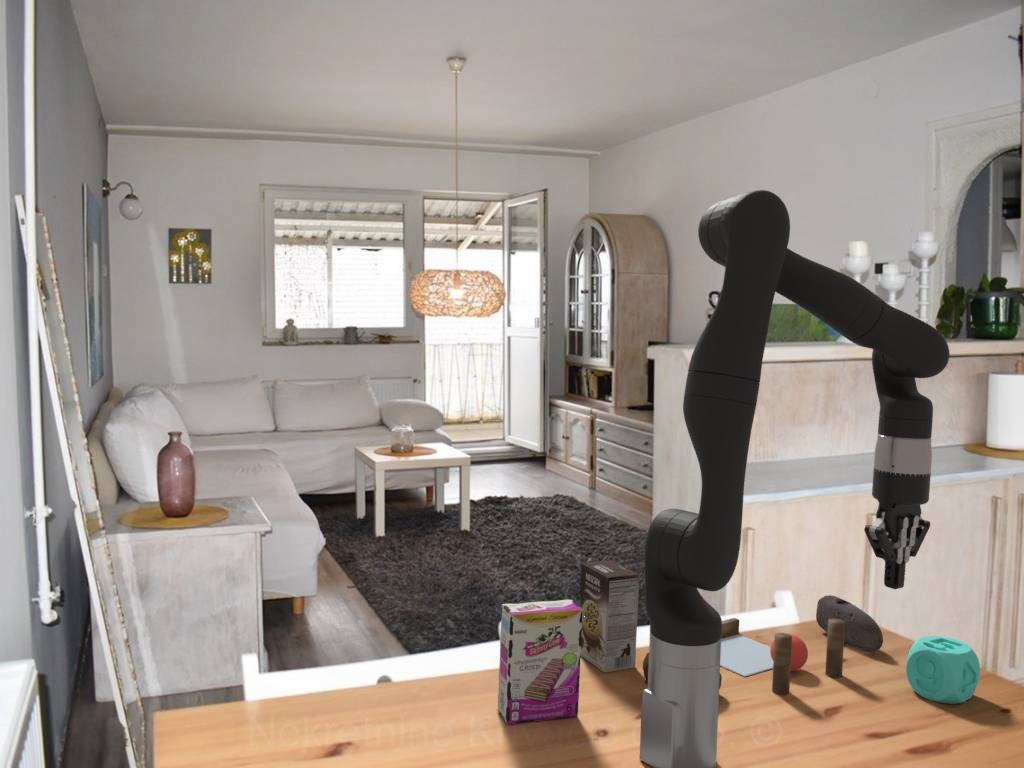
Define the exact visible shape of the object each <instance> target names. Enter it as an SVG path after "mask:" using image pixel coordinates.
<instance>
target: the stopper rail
mask: <svg viewBox="0 0 1024 768" xmlns="http://www.w3.org/2000/svg"><path fill="white" fill-rule="evenodd" d="M739 633H740V618H739V619H738V618H736V617H733V618H732V617H731V618H729V619H724V620H722V636H721V638H725V637H730V636H734V635H738V634H739ZM724 636H725V637H724Z"/></svg>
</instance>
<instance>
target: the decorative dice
mask: <svg viewBox="0 0 1024 768" xmlns="http://www.w3.org/2000/svg"><path fill="white" fill-rule="evenodd" d="M980 665H981V664H980V661H979V657H978V656H977V654H976V653H975V651H974V650H973V648H972V647H971V646H970V645H969V644H967V643H965V642H964V641H961V640H958V639H955V638H950V637H944V636H938V635H937V636H936V635H934V636H933V635H932V636H931V635H928V636H927V635H926V636H922V637H920V638H918V639H916V641H915V642H914V643H913V644H912V646H911V647H910V650H909V652H908V655H907V659H906V664H905V676H906V678H907V681H908V683H909V685H910V687H911V688H912V689H913V690H914V692H915V693H916V694H917V695H919V696H920V697H922V698H924V699H927V700H929V701H932V702H935V701H936V703H940V702H941V703H942V704H946V703H960V704H963V703H962V702H964V703H966V702H967V701H966V700H968V699H969V700H971V698H972V697H973V696H974V694H975V692H976V689H977V687H978V684H979V679H980V673H981V672H980V671H981V668H980ZM969 700H968V701H969ZM965 701H966V702H965Z"/></svg>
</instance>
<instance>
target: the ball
mask: <svg viewBox="0 0 1024 768" xmlns="http://www.w3.org/2000/svg"><path fill="white" fill-rule="evenodd" d="M788 634H789V635H791V636H792V649H791V669H790V672H794V671H797V670H800V669H802V668H803V667H804V665H806V663H807V660H808V656H809V652H808V648H807V645H806V643H805V642H804V640H803V639H802V638H800V637H799V636H797V635H795V634H793V633H792V634H791V633H788ZM774 641H775V639H773V641H772V643H771V644H770V647H771V648H770V654H771V658H772V660H773V662H774Z"/></svg>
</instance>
